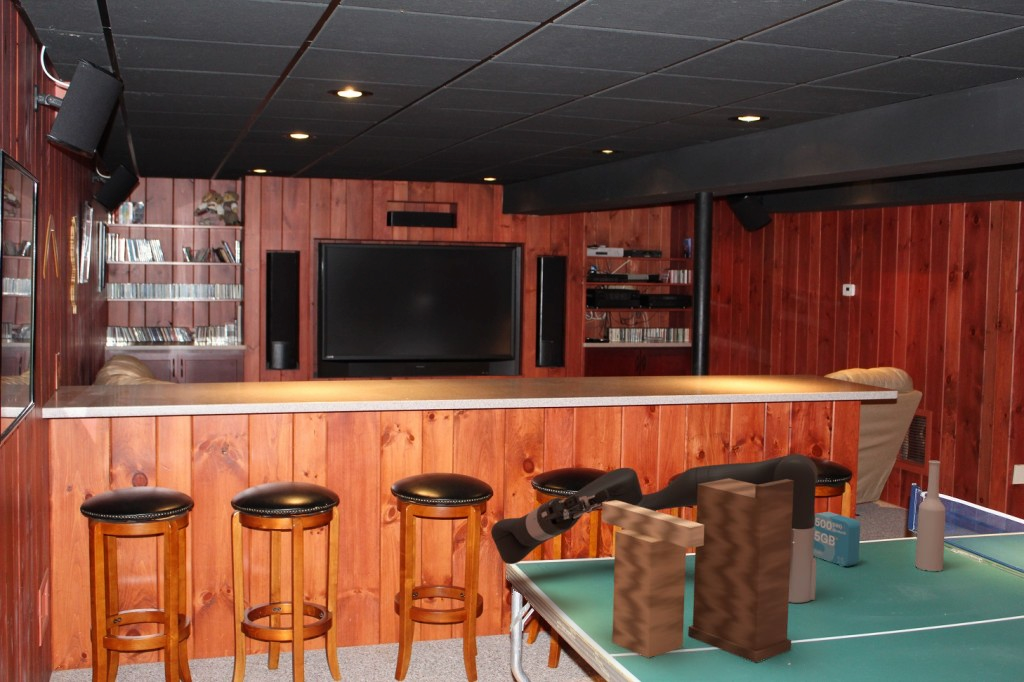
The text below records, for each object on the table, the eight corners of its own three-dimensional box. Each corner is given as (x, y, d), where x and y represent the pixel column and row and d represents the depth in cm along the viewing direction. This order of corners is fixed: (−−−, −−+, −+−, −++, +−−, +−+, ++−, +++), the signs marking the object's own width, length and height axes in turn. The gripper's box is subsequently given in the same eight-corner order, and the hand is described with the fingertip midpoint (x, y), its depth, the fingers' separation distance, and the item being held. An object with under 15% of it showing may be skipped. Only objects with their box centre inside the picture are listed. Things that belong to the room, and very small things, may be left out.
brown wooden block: (601, 521, 205) (602, 502, 205) (615, 518, 208) (615, 500, 207) (689, 548, 187) (690, 527, 186) (703, 545, 189) (704, 524, 189)
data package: (810, 556, 263) (812, 512, 262) (822, 554, 265) (824, 510, 264) (847, 568, 253) (849, 522, 252) (858, 566, 255) (861, 520, 254)
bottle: (912, 568, 254) (918, 461, 251) (918, 562, 259) (924, 457, 257) (939, 573, 250) (945, 465, 248) (945, 567, 255) (951, 461, 253)
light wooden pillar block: (612, 642, 200) (615, 531, 198) (646, 631, 206) (649, 523, 204) (648, 658, 192) (651, 542, 190) (682, 646, 198) (686, 534, 196)
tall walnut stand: (688, 635, 204) (693, 471, 201) (723, 624, 211) (729, 465, 208) (755, 663, 191) (762, 487, 188) (790, 649, 198) (798, 480, 195)
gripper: (520, 508, 219) (562, 484, 207) (568, 499, 227) (611, 476, 216) (530, 540, 216) (573, 518, 204) (578, 530, 225) (622, 508, 213)
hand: (592, 496), depth 210 cm, fingers open, 8 cm apart
